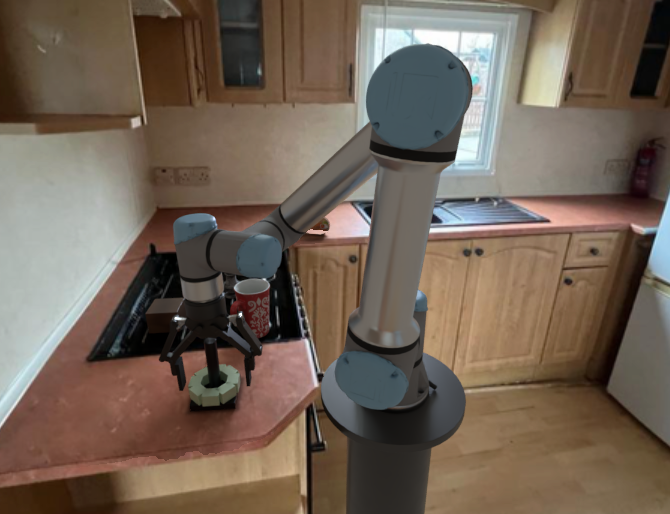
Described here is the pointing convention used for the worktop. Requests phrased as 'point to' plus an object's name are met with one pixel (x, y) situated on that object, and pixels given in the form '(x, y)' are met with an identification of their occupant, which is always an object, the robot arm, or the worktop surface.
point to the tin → (322, 225)
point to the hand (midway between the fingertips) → (216, 384)
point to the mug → (253, 304)
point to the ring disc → (214, 394)
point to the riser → (164, 314)
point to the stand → (213, 378)
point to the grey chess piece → (230, 285)
